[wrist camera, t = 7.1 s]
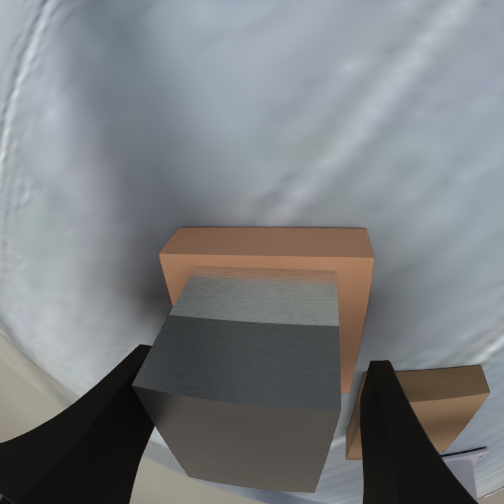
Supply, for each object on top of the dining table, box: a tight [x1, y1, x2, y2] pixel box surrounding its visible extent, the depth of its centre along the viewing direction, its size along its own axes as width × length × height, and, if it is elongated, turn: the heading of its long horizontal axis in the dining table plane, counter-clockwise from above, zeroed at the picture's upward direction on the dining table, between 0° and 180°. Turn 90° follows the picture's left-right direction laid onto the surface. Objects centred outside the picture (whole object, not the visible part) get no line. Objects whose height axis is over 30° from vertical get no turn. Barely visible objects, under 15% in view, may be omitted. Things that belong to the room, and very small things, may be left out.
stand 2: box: [346, 365, 490, 460], centre depth 15 cm, size 7×7×2 cm
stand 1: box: [159, 227, 375, 393], centre depth 13 cm, size 7×7×2 cm
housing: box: [132, 266, 341, 493], centre depth 10 cm, size 6×4×5 cm
